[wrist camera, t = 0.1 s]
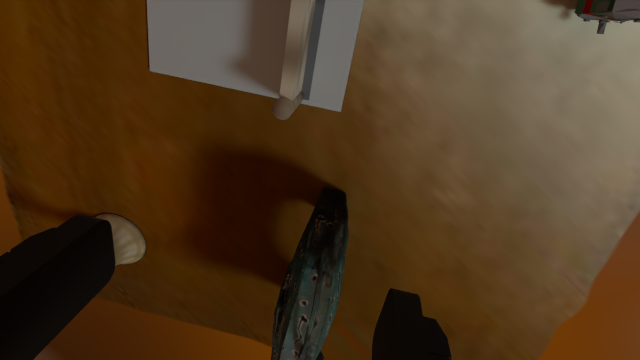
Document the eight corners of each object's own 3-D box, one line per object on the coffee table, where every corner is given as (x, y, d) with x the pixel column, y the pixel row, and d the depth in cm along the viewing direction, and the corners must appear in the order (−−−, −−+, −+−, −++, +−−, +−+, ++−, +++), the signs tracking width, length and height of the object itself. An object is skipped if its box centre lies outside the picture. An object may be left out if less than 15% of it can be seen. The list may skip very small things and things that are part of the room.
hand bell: (79, 231, 50) (-39, 320, 36) (111, 202, 47) (-4, 287, 32) (123, 270, 52) (29, 368, 38) (157, 245, 49) (69, 342, 35)
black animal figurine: (329, 310, 50) (304, 478, 32) (284, 299, 50) (235, 460, 32) (361, 189, 41) (352, 329, 23) (307, 177, 41) (257, 305, 23)
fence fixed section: (303, -29, 32) (287, -38, 26) (322, -25, 32) (311, -33, 26) (285, 102, 37) (269, 118, 31) (302, 105, 37) (289, 123, 31)
